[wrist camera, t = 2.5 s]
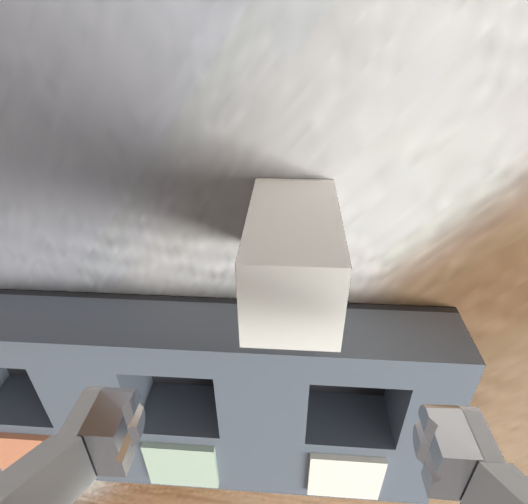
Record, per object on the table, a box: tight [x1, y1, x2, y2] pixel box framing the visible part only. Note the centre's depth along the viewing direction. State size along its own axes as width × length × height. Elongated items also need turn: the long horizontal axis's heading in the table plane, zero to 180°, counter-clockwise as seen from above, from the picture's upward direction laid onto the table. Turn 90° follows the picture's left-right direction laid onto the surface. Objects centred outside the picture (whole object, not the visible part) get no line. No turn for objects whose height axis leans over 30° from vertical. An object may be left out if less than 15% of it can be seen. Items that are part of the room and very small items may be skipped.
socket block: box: [0, 289, 486, 504], centre depth 27 cm, size 14×34×5 cm, turn 90°
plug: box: [235, 178, 352, 352], centre depth 18 cm, size 4×4×8 cm
